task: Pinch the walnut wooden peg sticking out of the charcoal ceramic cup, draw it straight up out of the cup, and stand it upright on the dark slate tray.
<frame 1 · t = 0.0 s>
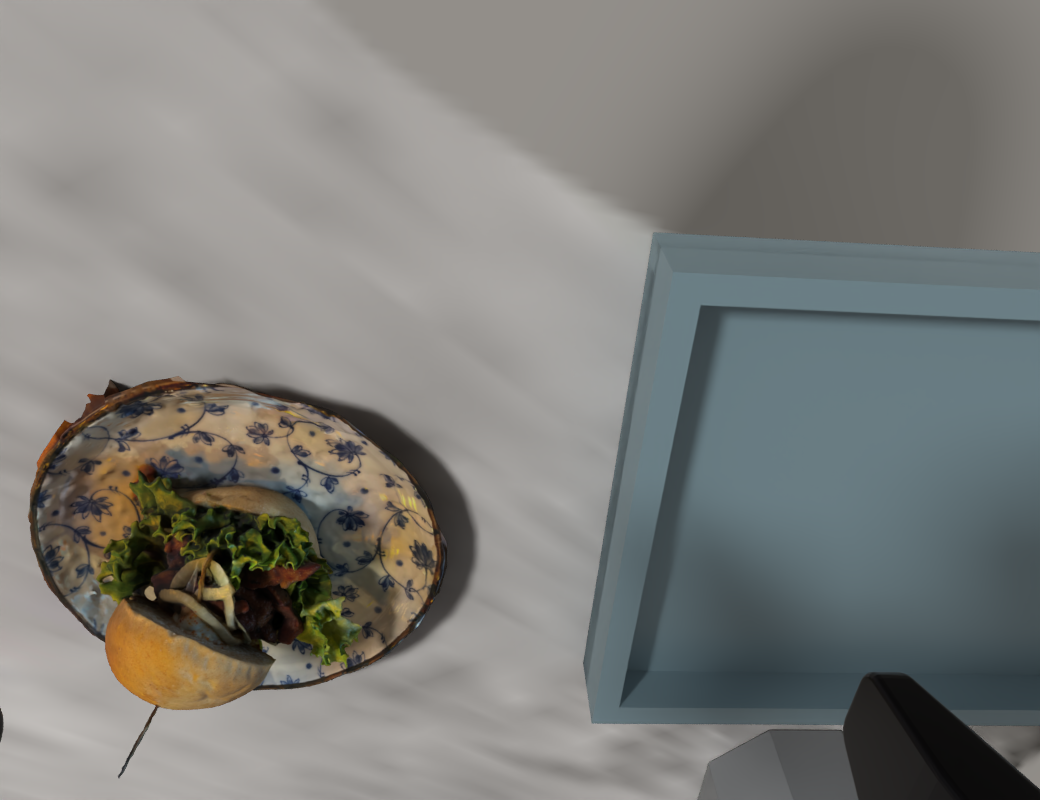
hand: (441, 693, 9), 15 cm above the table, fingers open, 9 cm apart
cup: (784, 784, 35), on the table
tray: (927, 491, 27), on the table
burger: (252, 513, 27), on the table
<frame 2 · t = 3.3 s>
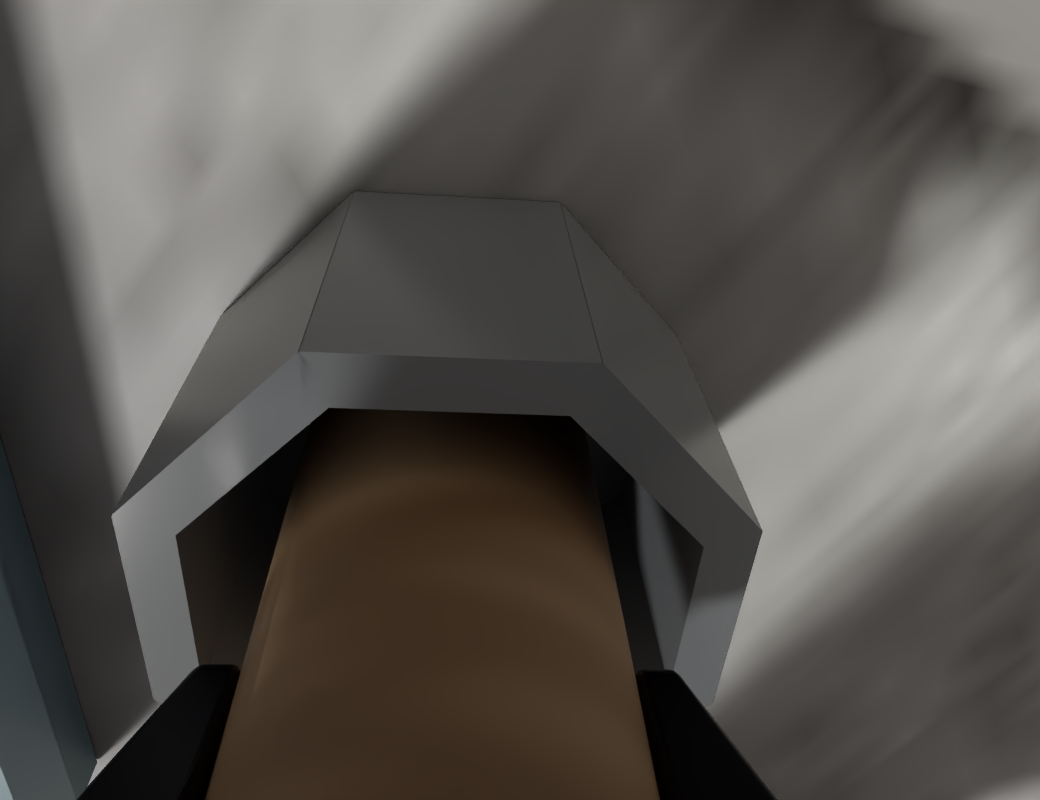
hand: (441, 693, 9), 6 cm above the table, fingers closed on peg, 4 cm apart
cup: (450, 406, 14), on the table
peg: (449, 427, 13), point 1 cm above the table, touching cup, gripper
when the fingers open (8 cm above the table, at t = 7.2 s): peg drops 2 cm, resting on tray.
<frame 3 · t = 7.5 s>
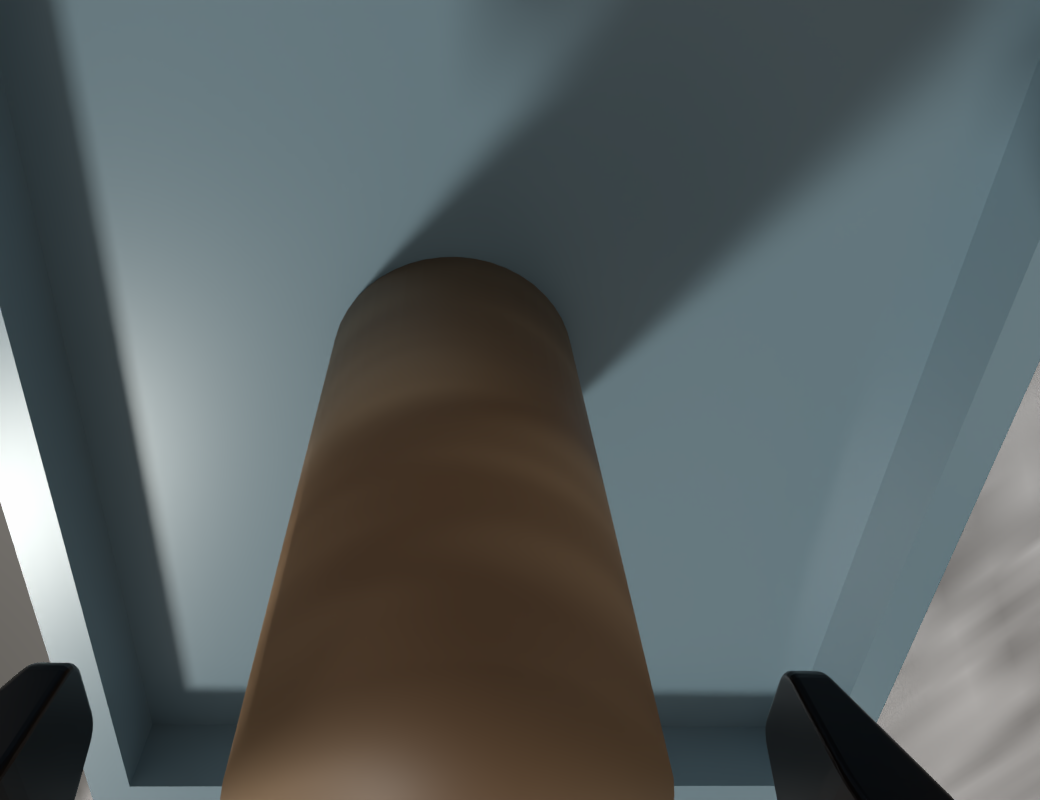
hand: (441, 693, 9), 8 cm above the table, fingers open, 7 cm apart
tray: (506, 345, 15), on the table
peg: (453, 368, 14), point 1 cm above the table, touching tray
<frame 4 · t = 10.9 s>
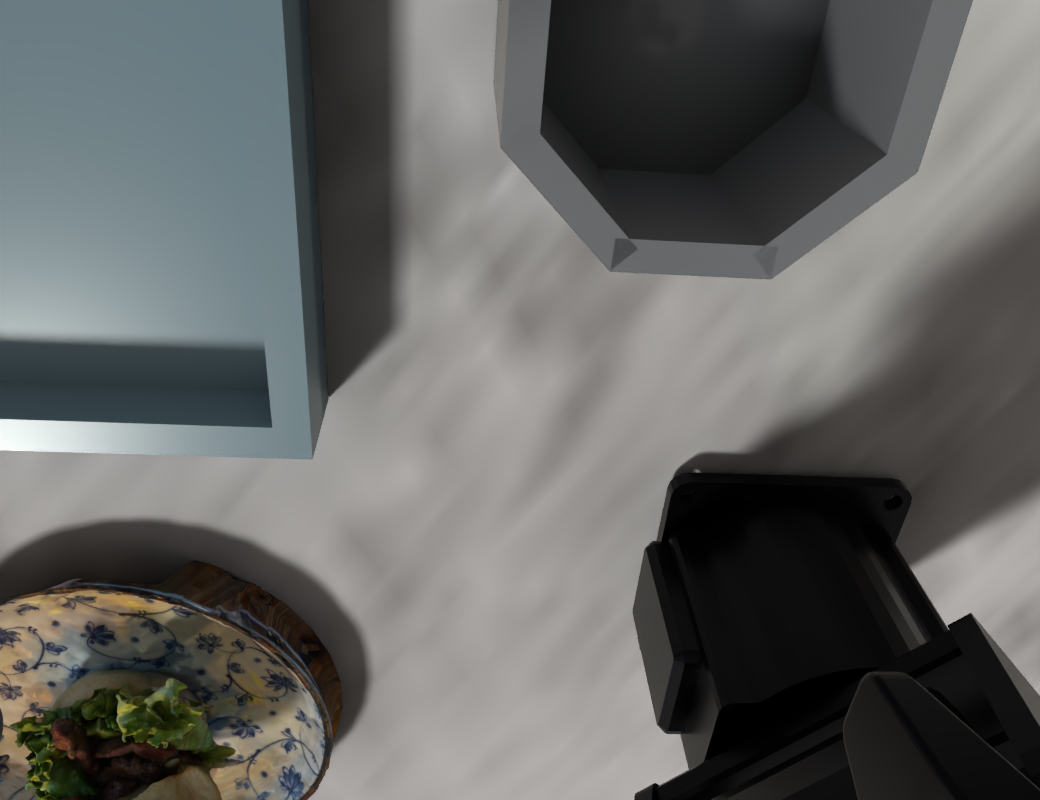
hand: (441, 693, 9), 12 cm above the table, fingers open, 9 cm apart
cup: (671, 20, 17), on the table
burger: (150, 683, 27), on the table
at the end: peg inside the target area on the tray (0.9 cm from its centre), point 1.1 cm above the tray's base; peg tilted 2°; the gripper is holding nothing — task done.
